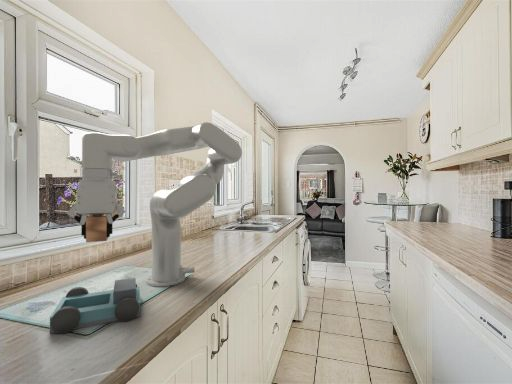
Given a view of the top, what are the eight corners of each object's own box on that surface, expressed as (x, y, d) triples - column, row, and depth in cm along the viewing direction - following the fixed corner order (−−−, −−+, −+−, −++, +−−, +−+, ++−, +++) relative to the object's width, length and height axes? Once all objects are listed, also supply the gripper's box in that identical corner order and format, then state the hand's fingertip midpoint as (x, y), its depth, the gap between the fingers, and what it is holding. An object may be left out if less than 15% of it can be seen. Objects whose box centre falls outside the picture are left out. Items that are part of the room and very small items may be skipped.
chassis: (139, 296, 77) (139, 274, 77) (140, 318, 63) (140, 291, 63) (63, 308, 69) (63, 283, 69) (48, 336, 56) (48, 305, 56)
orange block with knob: (107, 238, 81) (107, 212, 81) (106, 240, 76) (106, 213, 76) (88, 239, 79) (88, 212, 79) (86, 242, 74) (85, 213, 74)
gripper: (129, 176, 84) (129, 233, 84) (65, 175, 77) (65, 237, 77) (129, 175, 77) (129, 237, 77) (58, 174, 70) (58, 241, 70)
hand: (97, 236), depth 77 cm, fingers closed on orange block with knob, 5 cm apart
